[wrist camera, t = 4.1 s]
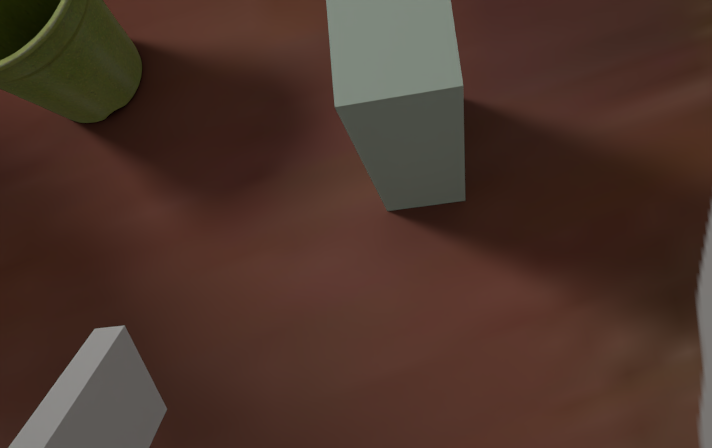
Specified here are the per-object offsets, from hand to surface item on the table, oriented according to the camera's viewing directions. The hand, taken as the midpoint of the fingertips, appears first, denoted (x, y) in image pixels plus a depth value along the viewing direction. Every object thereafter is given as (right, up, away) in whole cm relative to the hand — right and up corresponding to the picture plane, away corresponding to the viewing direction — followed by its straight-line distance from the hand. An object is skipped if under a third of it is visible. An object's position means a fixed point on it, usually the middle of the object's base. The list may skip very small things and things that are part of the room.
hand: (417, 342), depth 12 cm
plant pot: (-17, +12, +23) cm, 31 cm away
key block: (+2, +6, +17) cm, 18 cm away
